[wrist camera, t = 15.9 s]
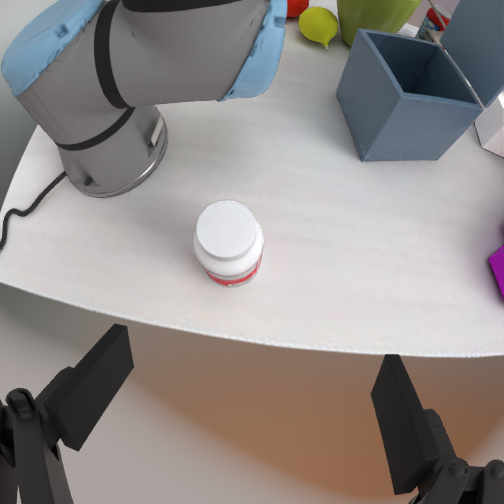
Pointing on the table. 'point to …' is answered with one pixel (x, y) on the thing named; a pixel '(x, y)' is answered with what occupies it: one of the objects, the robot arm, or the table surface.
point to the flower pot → (373, 16)
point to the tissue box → (492, 125)
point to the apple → (296, 7)
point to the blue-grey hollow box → (403, 97)
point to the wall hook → (436, 34)
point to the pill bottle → (228, 243)
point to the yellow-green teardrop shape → (318, 25)
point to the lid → (478, 45)
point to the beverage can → (433, 23)
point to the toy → (498, 267)
